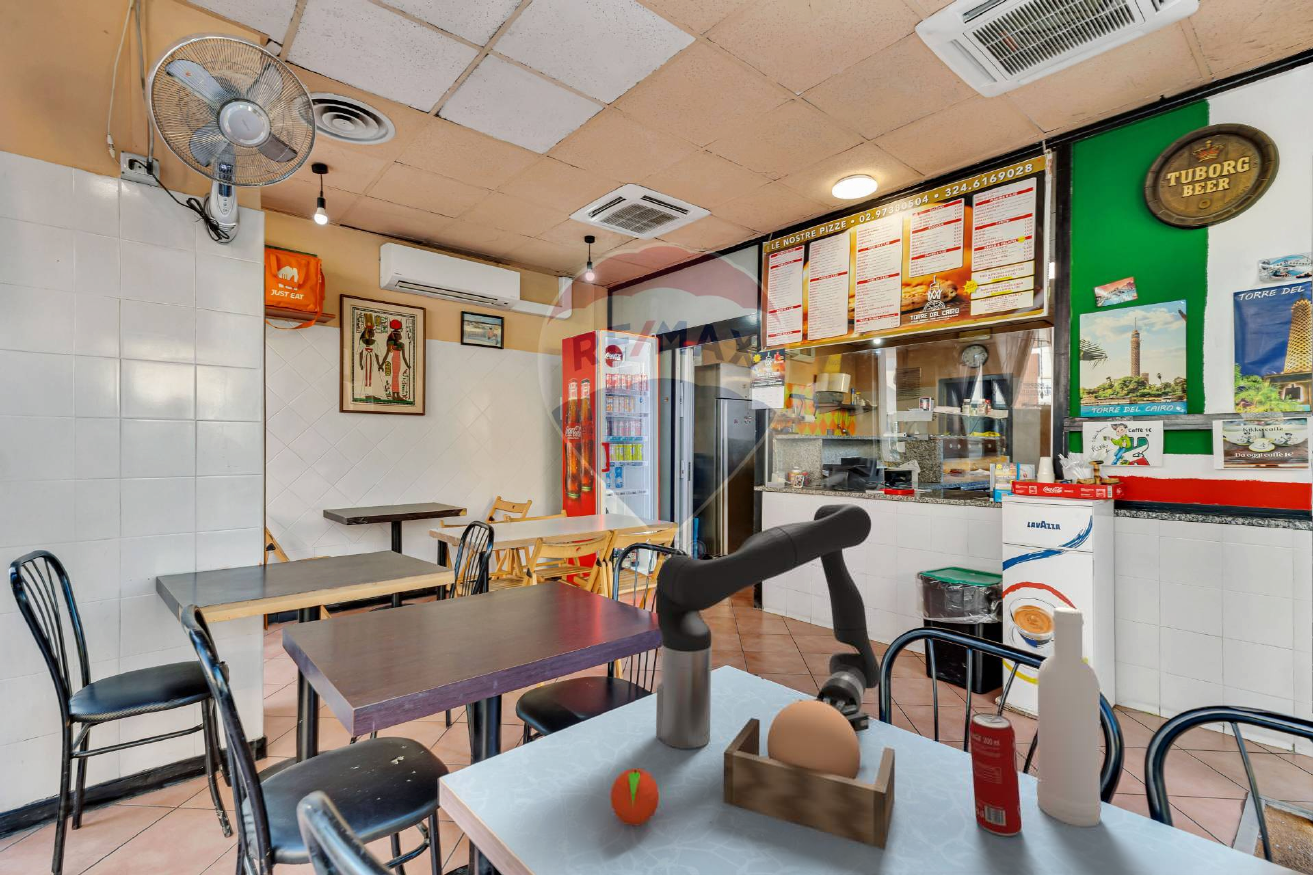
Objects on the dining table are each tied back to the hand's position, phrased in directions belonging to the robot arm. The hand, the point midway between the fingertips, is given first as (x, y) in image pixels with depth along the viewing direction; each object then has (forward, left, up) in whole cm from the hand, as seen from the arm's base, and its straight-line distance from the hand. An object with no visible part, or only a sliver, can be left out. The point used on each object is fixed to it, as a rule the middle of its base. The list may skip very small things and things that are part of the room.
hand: (823, 733), depth 101 cm
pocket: (0, -9, -6) cm, 11 cm away
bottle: (+35, +6, -6) cm, 36 cm away
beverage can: (+25, -3, -6) cm, 26 cm away
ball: (0, -8, +1) cm, 8 cm away
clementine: (-21, -28, -6) cm, 35 cm away
